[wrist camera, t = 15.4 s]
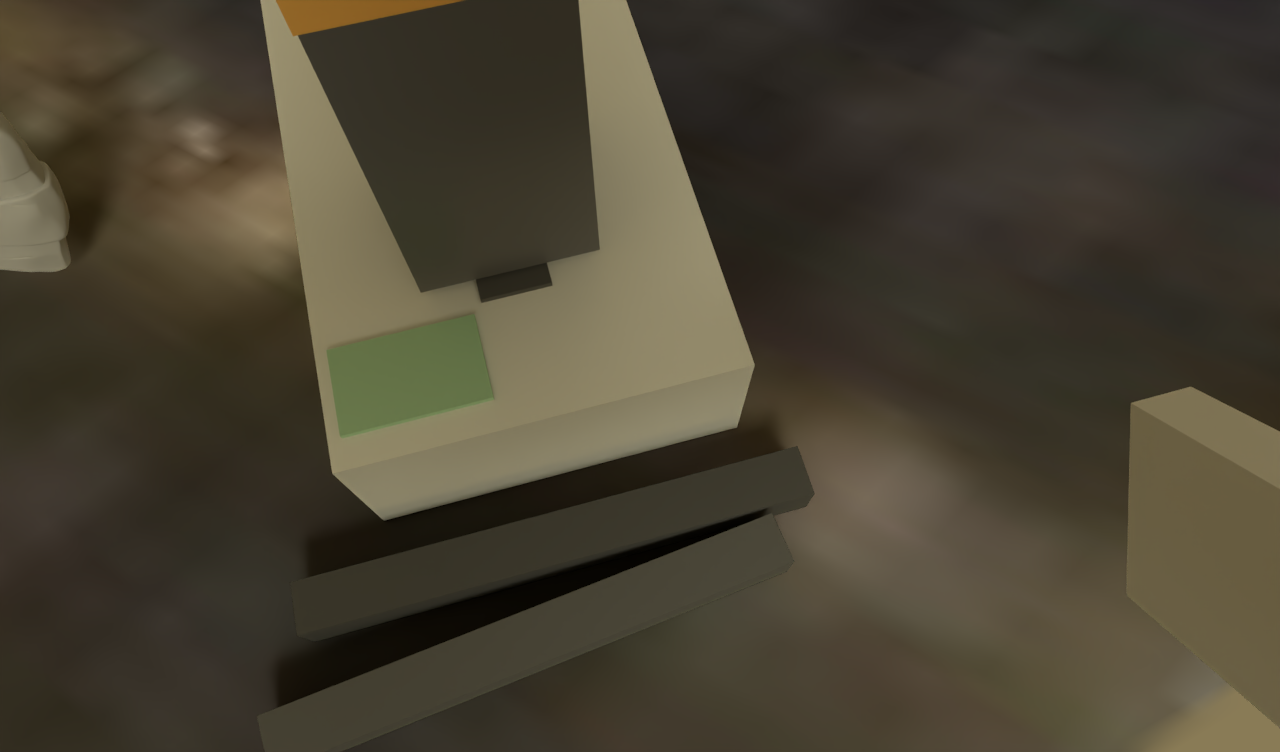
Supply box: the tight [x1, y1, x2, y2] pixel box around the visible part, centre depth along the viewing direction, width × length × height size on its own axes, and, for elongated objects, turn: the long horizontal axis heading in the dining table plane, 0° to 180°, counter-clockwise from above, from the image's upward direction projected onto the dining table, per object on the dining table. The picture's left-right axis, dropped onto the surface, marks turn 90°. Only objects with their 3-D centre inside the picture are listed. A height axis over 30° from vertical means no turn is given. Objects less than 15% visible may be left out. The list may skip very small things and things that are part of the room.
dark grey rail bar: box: [290, 446, 814, 642], centre depth 21 cm, size 12×1×1 cm, turn 105°
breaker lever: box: [276, 0, 600, 293], centre depth 17 cm, size 4×4×9 cm
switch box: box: [261, 0, 755, 521], centre depth 24 cm, size 9×18×4 cm, turn 15°
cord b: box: [257, 513, 794, 752], centre depth 21 cm, size 12×1×1 cm, turn 111°
